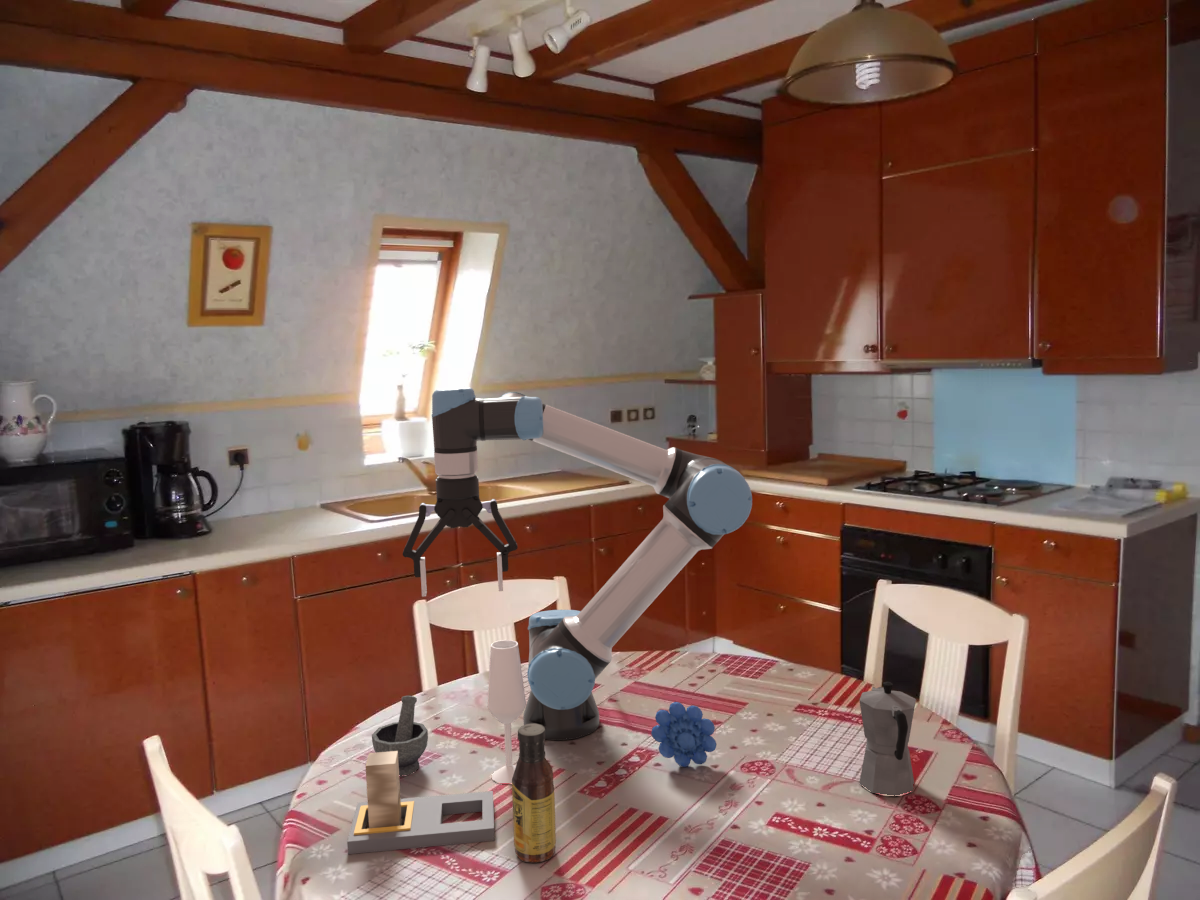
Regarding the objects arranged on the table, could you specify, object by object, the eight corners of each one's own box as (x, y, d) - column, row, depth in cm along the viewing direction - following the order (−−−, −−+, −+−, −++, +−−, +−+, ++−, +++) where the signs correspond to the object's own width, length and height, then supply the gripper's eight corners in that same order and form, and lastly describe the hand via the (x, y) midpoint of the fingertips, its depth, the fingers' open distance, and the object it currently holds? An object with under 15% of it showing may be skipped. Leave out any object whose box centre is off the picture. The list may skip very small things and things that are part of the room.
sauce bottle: (514, 844, 141) (509, 719, 139) (555, 841, 141) (551, 716, 139) (514, 868, 134) (509, 738, 132) (557, 865, 135) (552, 735, 133)
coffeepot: (848, 767, 163) (849, 668, 161) (902, 766, 163) (903, 667, 161) (873, 811, 148) (874, 703, 146) (932, 810, 148) (934, 702, 146)
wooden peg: (401, 822, 148) (397, 750, 147) (399, 836, 144) (395, 763, 143) (373, 824, 148) (368, 753, 146) (369, 839, 143) (365, 765, 142)
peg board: (493, 802, 154) (492, 789, 154) (494, 840, 142) (494, 826, 142) (358, 814, 151) (357, 800, 151) (347, 854, 139) (347, 839, 139)
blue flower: (654, 779, 160) (653, 713, 159) (650, 761, 167) (649, 698, 166) (721, 775, 161) (720, 709, 160) (714, 758, 168) (713, 695, 166)
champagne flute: (530, 782, 160) (525, 649, 158) (491, 786, 159) (485, 652, 157) (526, 765, 167) (522, 636, 164) (489, 769, 166) (484, 639, 163)
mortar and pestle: (416, 783, 161) (412, 717, 160) (365, 780, 163) (362, 715, 162) (438, 754, 172) (435, 692, 171) (391, 751, 174) (387, 690, 173)
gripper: (526, 468, 169) (530, 581, 172) (386, 475, 166) (393, 591, 168) (528, 474, 162) (533, 592, 164) (383, 481, 158) (390, 602, 161)
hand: (462, 592), depth 166 cm, fingers open, 13 cm apart
